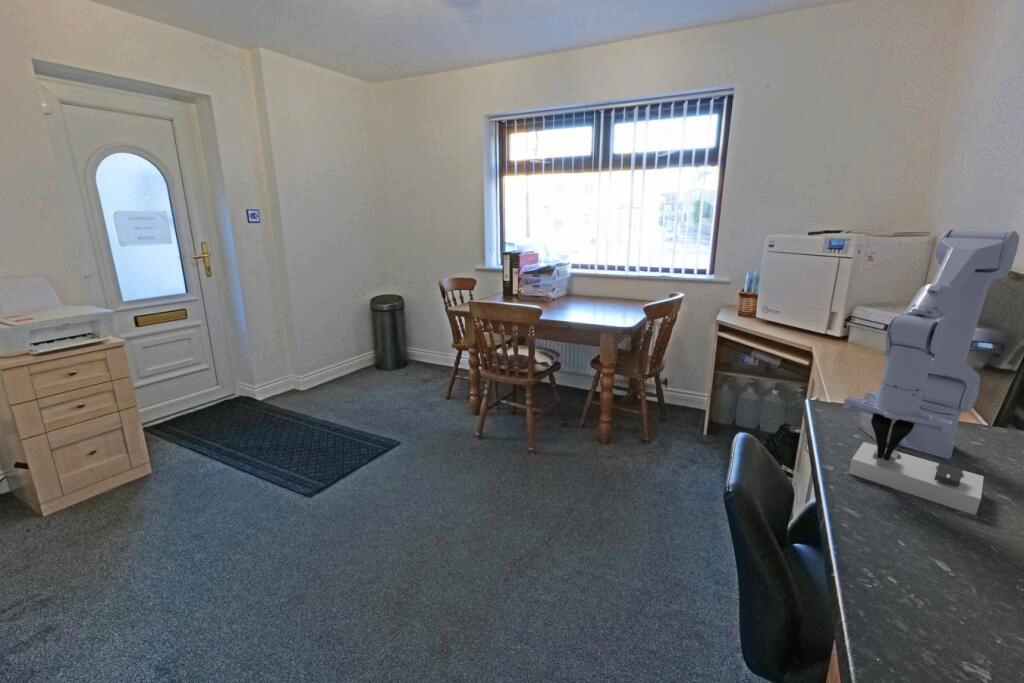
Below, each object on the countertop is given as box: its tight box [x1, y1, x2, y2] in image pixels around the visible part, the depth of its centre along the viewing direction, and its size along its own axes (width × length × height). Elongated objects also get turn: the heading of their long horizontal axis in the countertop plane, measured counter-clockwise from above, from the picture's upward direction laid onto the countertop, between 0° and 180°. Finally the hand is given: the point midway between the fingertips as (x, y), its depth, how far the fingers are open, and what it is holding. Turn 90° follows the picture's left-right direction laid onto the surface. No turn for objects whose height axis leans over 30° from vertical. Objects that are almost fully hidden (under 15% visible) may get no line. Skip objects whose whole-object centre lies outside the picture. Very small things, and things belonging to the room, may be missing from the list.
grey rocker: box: [873, 448, 898, 465], centre depth 84 cm, size 4×3×1 cm
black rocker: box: [934, 462, 964, 487], centre depth 78 cm, size 4×3×1 cm
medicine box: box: [857, 392, 896, 444], centre depth 101 cm, size 8×4×9 cm, turn 168°
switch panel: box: [848, 441, 984, 516], centre depth 83 cm, size 10×17×3 cm, turn 44°
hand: (883, 457), depth 82 cm, fingers closed, pressing on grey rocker
